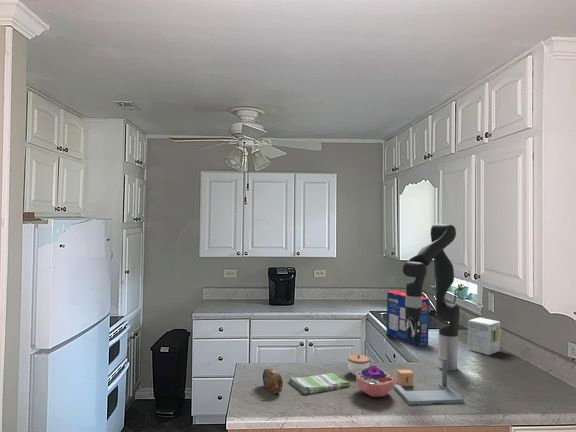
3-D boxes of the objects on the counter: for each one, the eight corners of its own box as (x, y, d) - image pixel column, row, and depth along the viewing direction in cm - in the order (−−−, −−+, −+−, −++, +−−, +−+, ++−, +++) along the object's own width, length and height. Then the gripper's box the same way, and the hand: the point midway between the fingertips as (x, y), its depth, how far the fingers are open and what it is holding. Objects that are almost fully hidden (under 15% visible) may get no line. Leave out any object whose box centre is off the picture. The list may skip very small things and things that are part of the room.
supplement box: (488, 355, 257) (489, 324, 257) (467, 349, 267) (467, 319, 267) (500, 351, 265) (500, 321, 265) (478, 345, 276) (479, 317, 275)
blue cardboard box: (428, 344, 276) (429, 298, 276) (418, 346, 272) (419, 299, 272) (395, 333, 300) (396, 291, 300) (386, 334, 296) (387, 291, 296)
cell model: (355, 402, 190) (355, 375, 190) (354, 384, 210) (355, 359, 210) (396, 405, 188) (397, 378, 187) (392, 386, 207) (392, 362, 207)
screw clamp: (392, 386, 208) (392, 356, 208) (441, 384, 211) (442, 355, 211) (409, 404, 188) (410, 372, 188) (463, 402, 191) (464, 370, 191)
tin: (261, 384, 207) (262, 366, 207) (268, 383, 208) (268, 365, 208) (277, 397, 193) (277, 377, 193) (283, 395, 195) (284, 376, 195)
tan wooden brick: (396, 382, 213) (397, 369, 213) (409, 382, 214) (409, 369, 214) (400, 386, 208) (401, 373, 208) (413, 386, 209) (413, 373, 209)
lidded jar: (359, 379, 216) (359, 359, 216) (342, 372, 224) (343, 353, 224) (373, 374, 223) (374, 355, 223) (357, 368, 231) (357, 349, 231)
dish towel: (288, 382, 211) (288, 374, 211) (330, 375, 221) (331, 368, 221) (305, 396, 196) (305, 388, 196) (350, 388, 206) (350, 380, 206)
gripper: (400, 302, 215) (399, 336, 215) (411, 308, 201) (410, 345, 201) (415, 302, 216) (414, 336, 216) (427, 308, 202) (426, 345, 202)
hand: (412, 340), depth 209 cm, fingers open, 8 cm apart
